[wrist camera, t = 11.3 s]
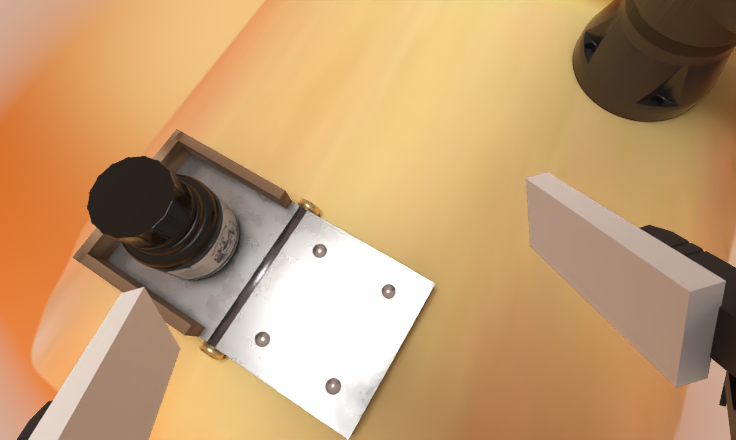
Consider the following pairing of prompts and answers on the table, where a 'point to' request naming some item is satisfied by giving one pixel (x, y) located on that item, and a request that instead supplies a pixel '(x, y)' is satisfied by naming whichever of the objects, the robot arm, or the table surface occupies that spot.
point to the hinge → (296, 302)
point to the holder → (173, 158)
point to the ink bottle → (164, 218)
